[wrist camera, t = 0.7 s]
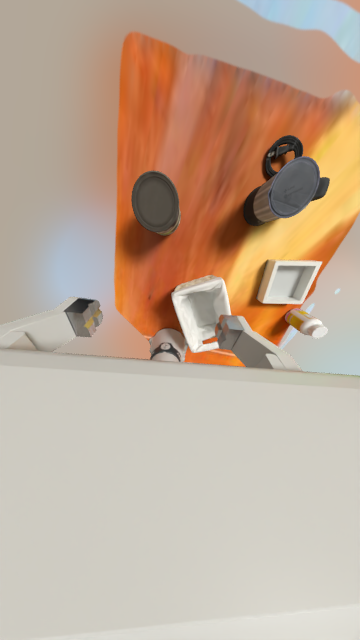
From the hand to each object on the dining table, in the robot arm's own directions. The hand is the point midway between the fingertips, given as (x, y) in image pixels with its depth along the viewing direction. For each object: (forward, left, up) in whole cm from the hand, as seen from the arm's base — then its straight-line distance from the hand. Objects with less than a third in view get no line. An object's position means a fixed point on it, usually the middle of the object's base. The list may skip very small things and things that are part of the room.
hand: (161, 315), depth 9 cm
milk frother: (+18, -24, -44) cm, 53 cm away
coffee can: (+12, +5, -44) cm, 46 cm away
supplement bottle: (-21, -47, -44) cm, 67 cm away
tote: (-7, -37, -44) cm, 57 cm away
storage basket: (-17, -8, -44) cm, 48 cm away
